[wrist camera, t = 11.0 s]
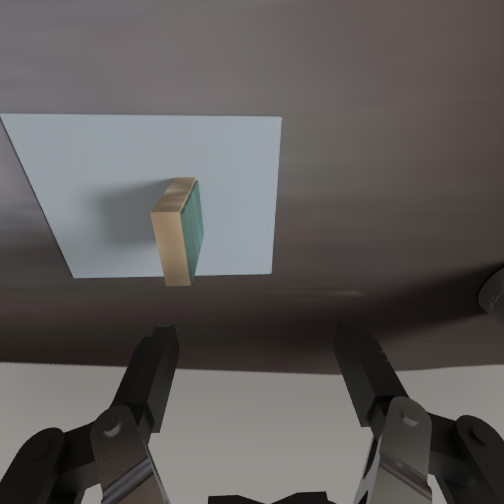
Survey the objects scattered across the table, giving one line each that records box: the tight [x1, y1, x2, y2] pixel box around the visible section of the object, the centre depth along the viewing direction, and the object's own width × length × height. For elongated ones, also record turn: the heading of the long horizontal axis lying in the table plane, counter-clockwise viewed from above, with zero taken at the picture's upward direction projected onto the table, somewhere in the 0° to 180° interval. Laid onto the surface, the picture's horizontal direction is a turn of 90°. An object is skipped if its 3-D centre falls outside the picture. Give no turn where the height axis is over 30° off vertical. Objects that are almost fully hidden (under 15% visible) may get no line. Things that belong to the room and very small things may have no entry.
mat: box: [0, 113, 282, 278], centre depth 24 cm, size 22×16×1 cm
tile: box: [150, 177, 204, 286], centre depth 21 cm, size 2×6×8 cm, turn 179°
